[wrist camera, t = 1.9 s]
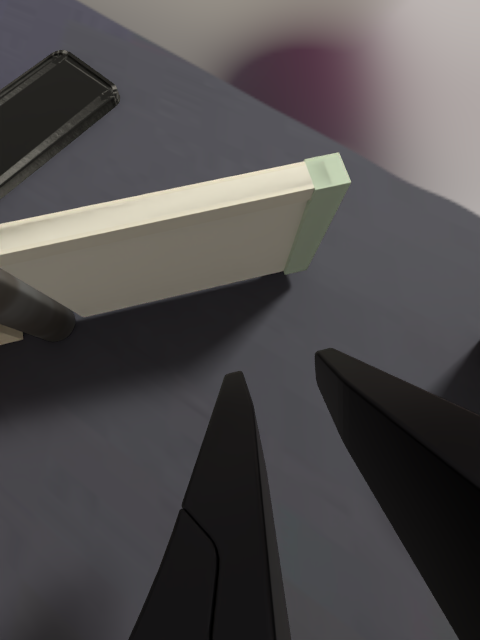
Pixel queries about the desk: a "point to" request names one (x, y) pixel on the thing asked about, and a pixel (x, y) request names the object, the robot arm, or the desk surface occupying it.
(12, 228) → the bar
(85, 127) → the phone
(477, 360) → the desk surface
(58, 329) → the garden fence
